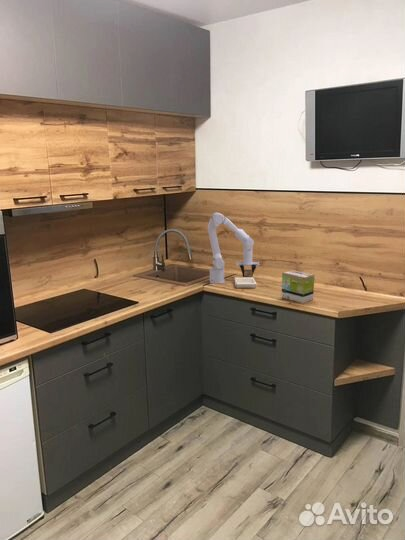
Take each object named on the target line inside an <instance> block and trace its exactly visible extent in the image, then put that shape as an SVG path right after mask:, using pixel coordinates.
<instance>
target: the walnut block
mask: <svg viewBox="0 0 405 540" xmlns="http://www.w3.org/2000/svg"><path fill="white" fill-rule="evenodd" d="M244 277H252V269H244Z"/></svg>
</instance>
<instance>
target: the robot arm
mask: <svg viewBox="0 0 405 540" xmlns="http://www.w3.org/2000/svg"><path fill="white" fill-rule="evenodd" d="M221 224H222V225H225V226H226V227H228V228H229V229H230V230H231V231H232V232H234V236H235V237H236V239H238V240H239V241H240V242H241V243H242V244H243V261H239V262H238V261H236V266H237V267H238V266H239V268H240V270H241V273H242V277H244V270H245V267H247V266H249V267H251V271H252V277H253V278H254V274H255V271H256V268H257V266H258V267H259V266H260V262H259V261H257V262H256V261H253V252H254V251H253V246H254V244H255V241H254V239H253V238H251V237H250V234H247V233H246V232H245V230H244V229H242V228H238V227H237V226H236V225H235V224H234V223H233V222H232V221H231V220H230V219H229V218H228V217H226V216H224V215H223V214H222V213H220V212H218V211H217V212H213V213H212V214H211V215H210V216H209V221H208V224H207V233H208V236H209V243H210V246H211V247H210V248H211V251H212V265H213V266H212V268H209V278H208V279H209V284H214V283H215V284H217V283H218V284H219V283H223V284H224V283H226V282H225V266H226V262H225V261H224V260H223V256H222V253H221V249H220V245H219V239H218V235H217V228H218V227H219V226H220V225H221Z"/></svg>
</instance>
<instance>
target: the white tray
mask: <svg viewBox="0 0 405 540" xmlns="http://www.w3.org/2000/svg"><path fill="white" fill-rule="evenodd" d="M257 284H258V283H257V282H256V280H255V278H254V276H253V277H243V276H242V277H236V276H235V277H234V285H235V288H236V289H237V288H247V289H248V288H250V289H251V288H253V289H254V288H257Z"/></svg>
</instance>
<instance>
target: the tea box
mask: <svg viewBox="0 0 405 540" xmlns="http://www.w3.org/2000/svg"><path fill="white" fill-rule="evenodd" d="M281 274H282V277H281V299H287V300H290V301H294V302H298V303H301V304H305V303H307V302H310V301H313V300H314V291H315V289H314V288H315V274H312V273H308V272H304V271H299V270H298V271H297V270H294V269H291V270H289V271H285V272H282V273H281Z"/></svg>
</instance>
